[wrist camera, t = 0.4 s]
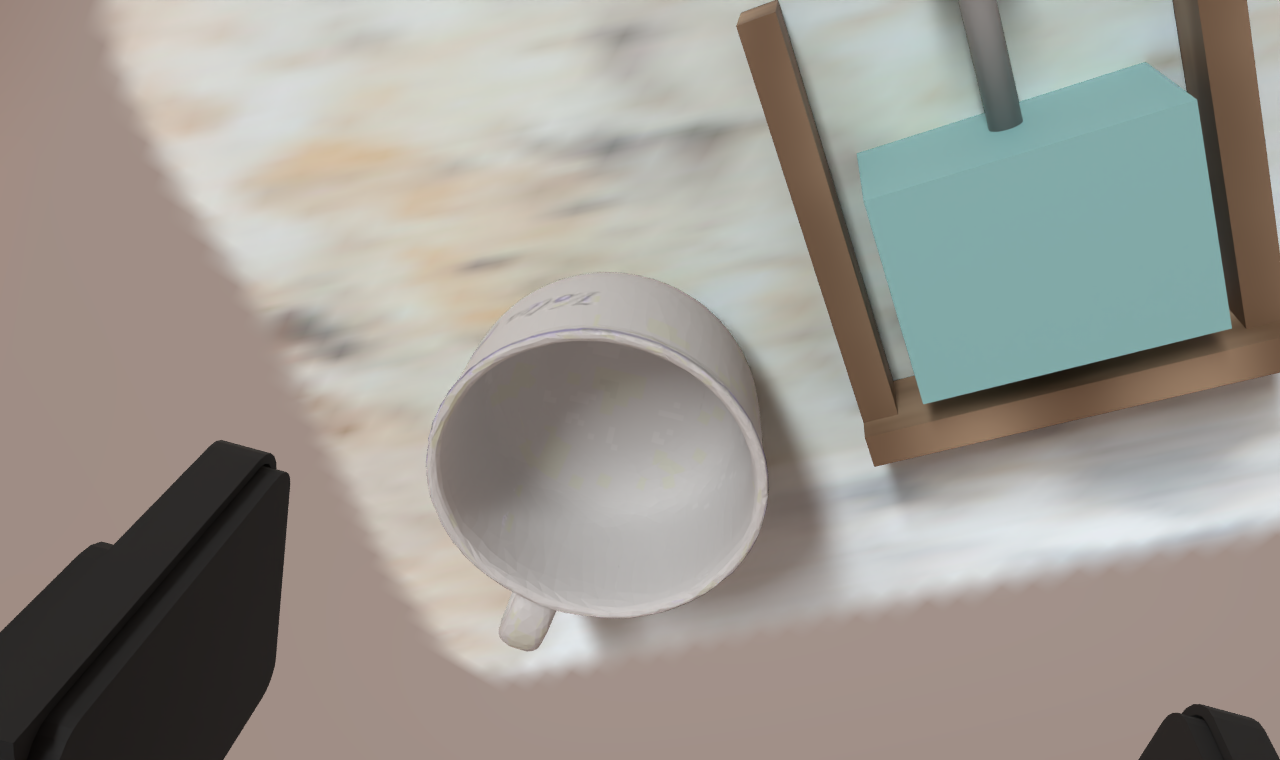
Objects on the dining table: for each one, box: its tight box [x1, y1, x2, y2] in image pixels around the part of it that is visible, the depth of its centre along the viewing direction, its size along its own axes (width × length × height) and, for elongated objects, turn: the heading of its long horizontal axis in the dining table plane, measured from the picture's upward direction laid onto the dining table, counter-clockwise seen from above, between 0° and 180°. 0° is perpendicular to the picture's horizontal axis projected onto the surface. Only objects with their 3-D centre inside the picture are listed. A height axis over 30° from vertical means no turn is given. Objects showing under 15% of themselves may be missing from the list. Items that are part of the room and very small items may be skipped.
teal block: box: [857, 0, 1232, 404], centre depth 31 cm, size 9×18×5 cm, turn 21°
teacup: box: [426, 272, 769, 651], centre depth 37 cm, size 14×11×8 cm
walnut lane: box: [736, 0, 1280, 467], centre depth 33 cm, size 13×15×4 cm
